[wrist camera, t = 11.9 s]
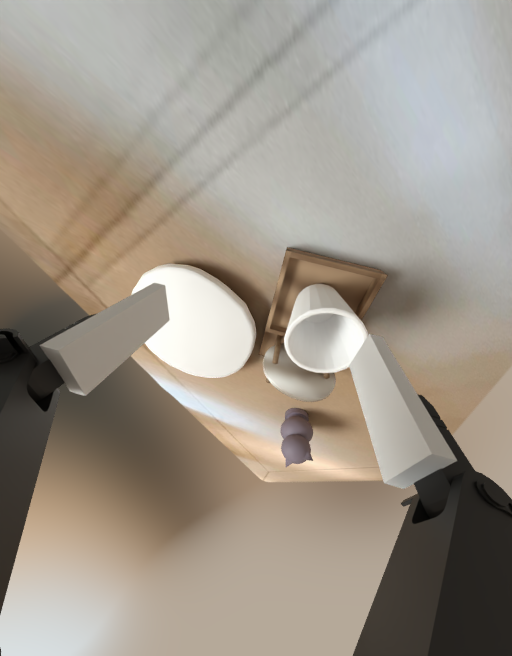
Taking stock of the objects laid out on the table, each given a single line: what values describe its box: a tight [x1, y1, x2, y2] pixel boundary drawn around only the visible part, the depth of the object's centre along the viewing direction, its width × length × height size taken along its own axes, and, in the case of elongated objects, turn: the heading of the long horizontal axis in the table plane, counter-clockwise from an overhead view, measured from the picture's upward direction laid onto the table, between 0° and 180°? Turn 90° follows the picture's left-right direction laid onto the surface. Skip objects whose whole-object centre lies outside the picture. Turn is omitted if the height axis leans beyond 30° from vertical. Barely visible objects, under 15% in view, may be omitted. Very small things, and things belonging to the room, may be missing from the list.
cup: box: [284, 284, 368, 373], centre depth 29 cm, size 10×10×13 cm
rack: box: [259, 247, 388, 402], centre depth 31 cm, size 23×15×14 cm
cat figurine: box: [281, 408, 313, 467], centre depth 48 cm, size 8×8×12 cm
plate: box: [132, 264, 257, 378], centre depth 41 cm, size 28×6×27 cm
